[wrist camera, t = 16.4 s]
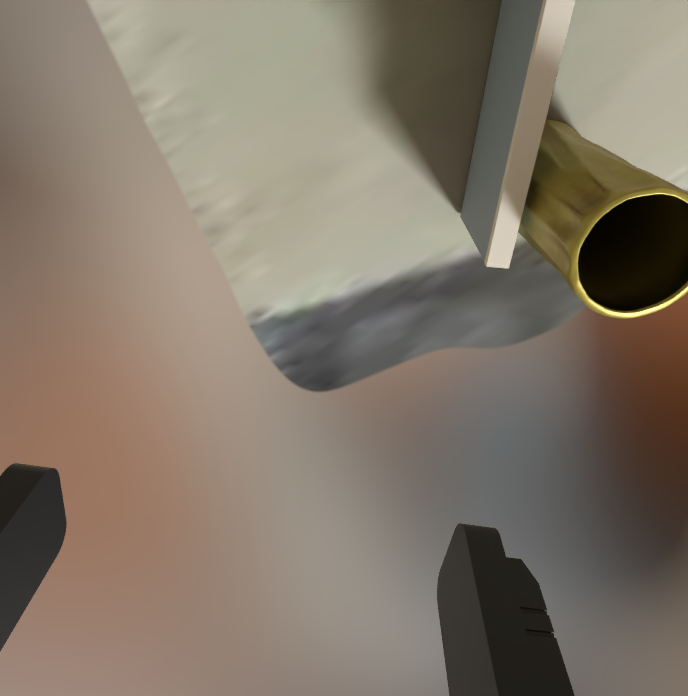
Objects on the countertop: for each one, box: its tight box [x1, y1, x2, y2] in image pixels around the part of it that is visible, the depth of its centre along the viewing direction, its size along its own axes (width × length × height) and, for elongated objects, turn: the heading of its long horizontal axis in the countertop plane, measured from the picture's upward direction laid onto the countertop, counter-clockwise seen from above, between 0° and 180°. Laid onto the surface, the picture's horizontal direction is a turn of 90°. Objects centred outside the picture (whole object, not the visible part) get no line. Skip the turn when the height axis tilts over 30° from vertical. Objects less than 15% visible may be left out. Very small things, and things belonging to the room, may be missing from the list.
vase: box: [518, 120, 688, 318], centre depth 26 cm, size 6×6×14 cm
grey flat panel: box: [461, 0, 575, 268], centre depth 27 cm, size 14×1×9 cm, turn 175°
